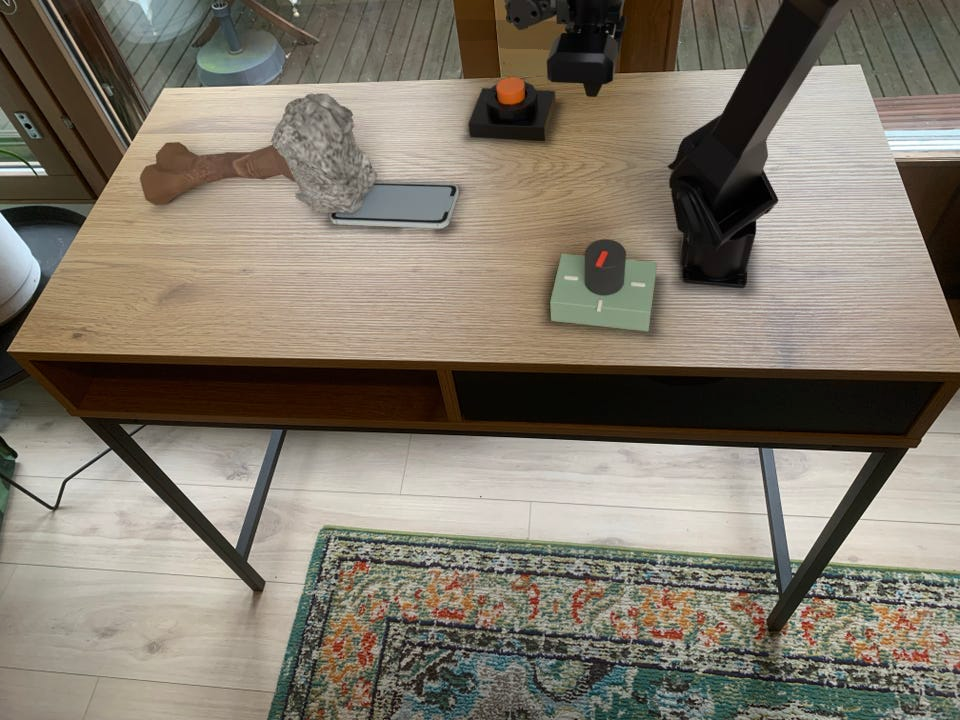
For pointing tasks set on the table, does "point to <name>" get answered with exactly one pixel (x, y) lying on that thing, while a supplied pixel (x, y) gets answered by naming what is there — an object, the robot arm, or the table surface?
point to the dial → (604, 267)
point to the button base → (513, 115)
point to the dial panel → (603, 296)
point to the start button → (510, 91)
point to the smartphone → (403, 206)
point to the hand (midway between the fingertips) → (592, 94)
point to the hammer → (279, 160)
